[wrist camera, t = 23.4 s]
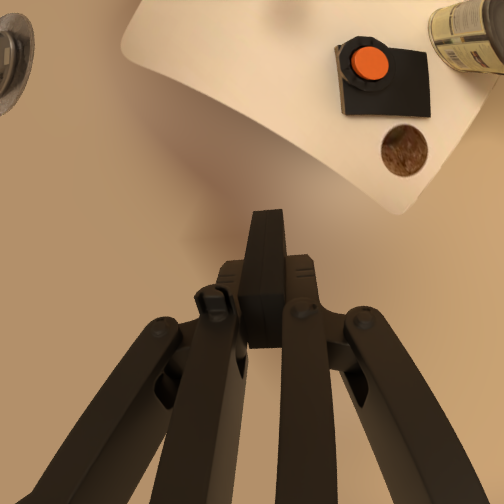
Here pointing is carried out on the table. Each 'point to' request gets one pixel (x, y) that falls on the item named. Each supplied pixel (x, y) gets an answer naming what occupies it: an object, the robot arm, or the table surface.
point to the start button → (370, 63)
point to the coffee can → (470, 36)
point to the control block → (384, 82)
